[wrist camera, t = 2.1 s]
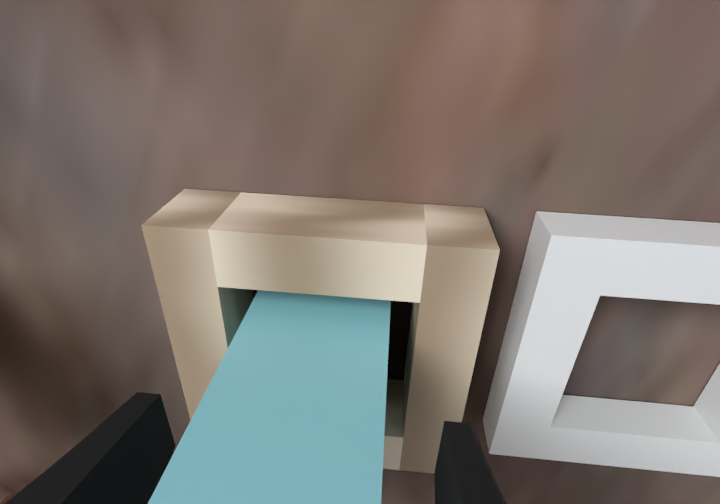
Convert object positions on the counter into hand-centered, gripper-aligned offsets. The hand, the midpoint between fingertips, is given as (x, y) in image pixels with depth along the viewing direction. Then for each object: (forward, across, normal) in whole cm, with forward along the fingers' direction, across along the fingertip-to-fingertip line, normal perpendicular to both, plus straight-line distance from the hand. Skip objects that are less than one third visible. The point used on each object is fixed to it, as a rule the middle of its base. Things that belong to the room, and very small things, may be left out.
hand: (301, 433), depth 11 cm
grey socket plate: (+5, -11, 0) cm, 12 cm away
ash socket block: (+5, 0, 0) cm, 5 cm away
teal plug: (+5, 0, 0) cm, 5 cm away
